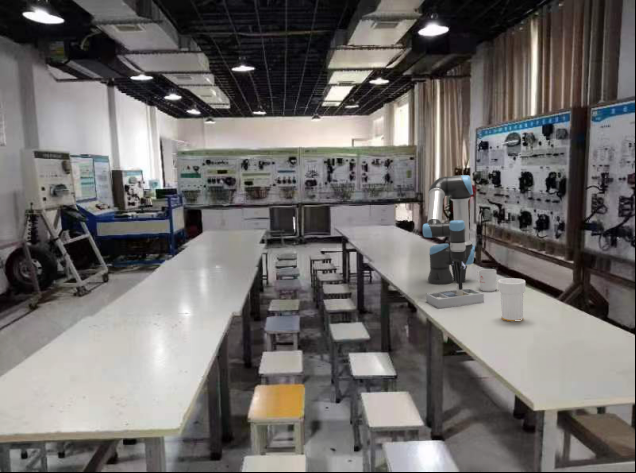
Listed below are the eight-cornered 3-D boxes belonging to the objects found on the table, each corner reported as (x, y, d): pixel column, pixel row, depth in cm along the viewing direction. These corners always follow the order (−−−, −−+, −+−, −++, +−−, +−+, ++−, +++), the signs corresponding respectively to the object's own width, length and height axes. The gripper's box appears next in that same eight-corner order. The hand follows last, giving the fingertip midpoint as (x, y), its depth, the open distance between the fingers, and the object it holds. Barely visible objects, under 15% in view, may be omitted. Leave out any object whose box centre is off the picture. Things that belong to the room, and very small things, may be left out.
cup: (512, 324, 204) (511, 285, 202) (493, 318, 215) (492, 280, 213) (532, 319, 209) (531, 281, 207) (512, 313, 219) (511, 276, 217)
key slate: (443, 297, 246) (443, 293, 246) (451, 296, 247) (450, 292, 246) (447, 299, 242) (447, 295, 241) (455, 298, 242) (455, 293, 242)
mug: (500, 290, 263) (499, 270, 261) (488, 292, 259) (487, 272, 258) (484, 286, 273) (483, 267, 272) (472, 288, 270) (471, 269, 268)
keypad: (426, 302, 249) (426, 293, 249) (469, 296, 254) (469, 287, 254) (438, 308, 236) (438, 299, 235) (483, 302, 241) (483, 293, 240)
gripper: (445, 249, 248) (447, 293, 251) (457, 252, 235) (459, 299, 238) (458, 248, 250) (460, 291, 252) (471, 251, 237) (472, 297, 240)
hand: (459, 295), depth 245 cm, fingers closed
